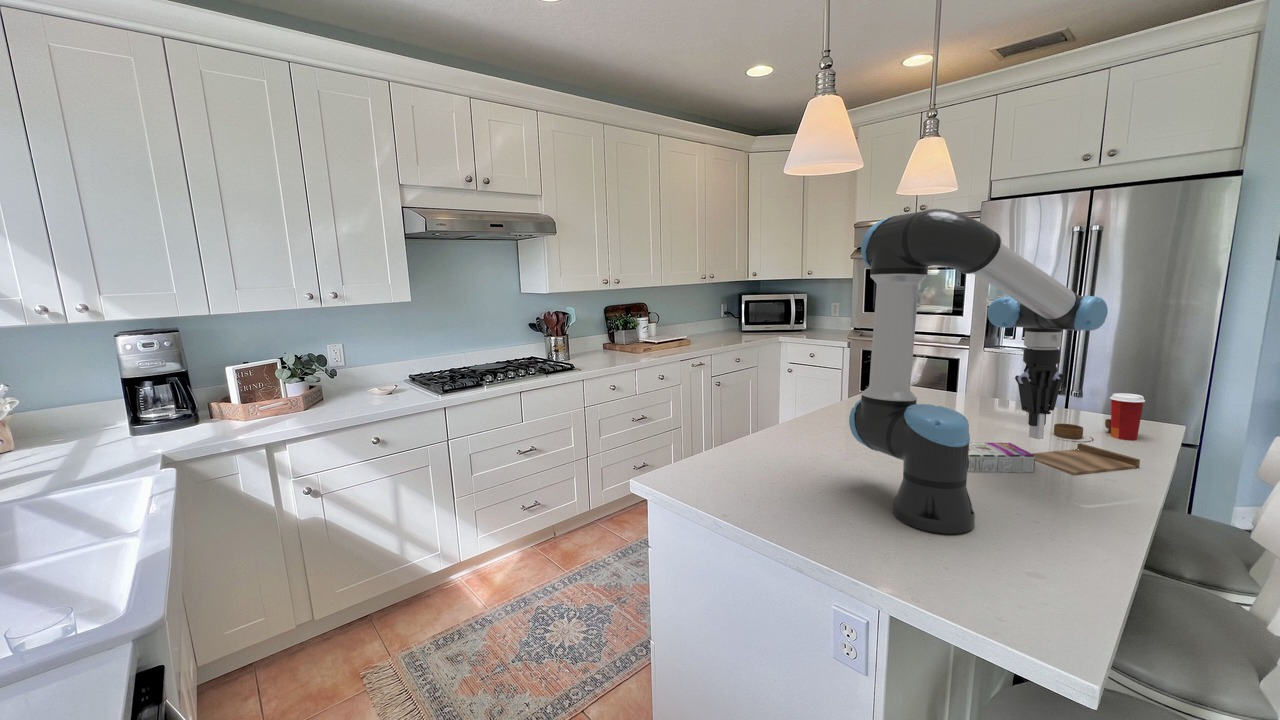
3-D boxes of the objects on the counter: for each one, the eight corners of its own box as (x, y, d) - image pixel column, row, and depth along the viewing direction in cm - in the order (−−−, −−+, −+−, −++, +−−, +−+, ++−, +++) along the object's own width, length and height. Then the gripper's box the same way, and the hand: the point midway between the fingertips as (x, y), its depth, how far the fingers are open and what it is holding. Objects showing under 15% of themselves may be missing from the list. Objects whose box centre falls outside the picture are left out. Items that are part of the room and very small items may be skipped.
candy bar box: (1009, 459, 143) (946, 458, 145) (1010, 442, 142) (947, 441, 144) (1034, 474, 132) (966, 472, 134) (1036, 455, 131) (967, 454, 133)
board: (1073, 475, 130) (1074, 466, 129) (1020, 457, 144) (1020, 449, 144) (1139, 468, 133) (1140, 459, 133) (1080, 451, 148) (1081, 443, 148)
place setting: (1034, 432, 170) (1035, 415, 169) (1111, 437, 162) (1113, 418, 161) (1053, 448, 153) (1055, 428, 153) (1140, 454, 146) (1142, 433, 145)
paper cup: (1146, 442, 154) (1151, 396, 153) (1132, 445, 151) (1137, 398, 150) (1114, 435, 162) (1118, 391, 160) (1100, 439, 159) (1104, 394, 157)
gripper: (1033, 350, 128) (1027, 443, 131) (1078, 348, 130) (1071, 439, 133) (1007, 347, 135) (1002, 435, 138) (1049, 345, 137) (1043, 432, 140)
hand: (1036, 437), depth 135 cm, fingers closed
